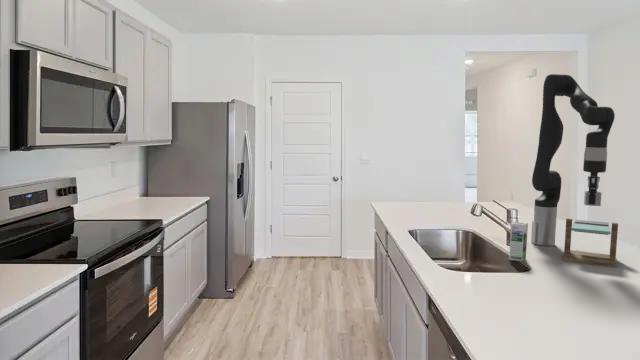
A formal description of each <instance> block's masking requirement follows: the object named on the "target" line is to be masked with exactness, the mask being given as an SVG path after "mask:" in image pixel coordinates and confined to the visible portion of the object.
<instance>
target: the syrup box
mask: <svg viewBox="0 0 640 360" xmlns="http://www.w3.org/2000/svg"><path fill="white" fill-rule="evenodd" d="M528 226H529V223H528V222H520V221H518V222H517V221H512V222H511V224H510V243H509V246H510V247H509V257H508V259H509V261H517V262H526V260H527V250H528V249H527V247H528V230H529V228H528Z"/></svg>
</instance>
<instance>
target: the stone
mask: <svg viewBox="0 0 640 360" xmlns="http://www.w3.org/2000/svg"><path fill="white" fill-rule="evenodd" d="M588 191H589V190H585V191H584V196H583V197H584V199H583V204H584V206H592V207H593V206H594V207H601V203H602V192H600V191H597V194H596V199H595V204H594V205H591V204H589V193H588Z"/></svg>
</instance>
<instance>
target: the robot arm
mask: <svg viewBox="0 0 640 360" xmlns="http://www.w3.org/2000/svg"><path fill="white" fill-rule="evenodd" d="M542 86H543V89H542V114H541V120H540V121H541V122H540V128H539V136H538V146H537V153H536V159H535V164H534V168H533V171H532V178H531V183H532V187H533V188H534V190H535V191H537V192H542V193H541V195H540V196H538V197H537V198H535V200H534V206H533V207H534V209H533V221H532V222H531V235H530V236H531V238H530V239H531V240H530V242H531V243H532V244H534V245H539V246H549V247H551V246H555V244H556V233H557V232H556V230H557V217H558V216H557V215H558V203H559V201H560V198H561V192H562V191H561V190H562V177H561V175H560V173H559V172H558V171H555V170H550V169H551V164H552V159H553V158H554V156H555V154H556V153H557V151H558V150H559V148H560V146H561V144H562V141H563V135H564V124H563V121H562V119H561V117H560V115H559V113H558V111H557V108H556V97H568V98H570V99H569V103H570V105H571V107H572V109H573V110H575V111H576V112H577V113H578V114H579V116H580V117H581V120H582V122H583V123H584V124H585V125H587V126H598V128H597V129H596V130H595V131H589V132H588V133H587V134H586V136H585V137H586V138H585V148H584V153H583V168H582V171H583V172H586V173H589V174H590V175H589V176H587V182H588V183H587V188H588V190H587V191H588V193H589V204H591V205H594V204H595V199H596V194H597V192H598V190H599V183H600V179H601V177H600V176H598V174H599V173H603V174H604V173H606V172H607V159H608V151H607V150H608V149H607V148H608V138H609V134H610V132H611V129H612V126H613V123H614V122H615V117H616V116H615V115H616V114H615V112H614V109H613V108H612V107H609V106H599V105H598V102H597V101H596V100H595V99H594V98H592V97H591V96H589V95H588V94H586V92H585V91H584V90H583V89H582V88H581V87H580V85H579V84H578V82H577V81H576V80H575V78H574V77H572V76H571V75H569V74H563V73H562V74H561V73H549V74H547V76H546V77H545V78H544V82H543V85H542Z"/></svg>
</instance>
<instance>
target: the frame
mask: <svg viewBox="0 0 640 360" xmlns="http://www.w3.org/2000/svg"><path fill="white" fill-rule="evenodd" d="M572 225H573V218H566V219H565V233H564V234H565V235H564V250H563V254H562V257H561V261H563V262H570V263H578V264H585V265H591V266H592V265H593V266H601V267H607V268H616V269H617V259H616V257H617V245H618V233H619V232H618V228H619V223H618V222H611V229H610V230H611V234H610V244H609V245H610V247H609V254H607V253H601V252H599V253H598V252H590V251H589V252H588V251H581V250H574V249H571V245H572V231H571V227H572Z"/></svg>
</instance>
